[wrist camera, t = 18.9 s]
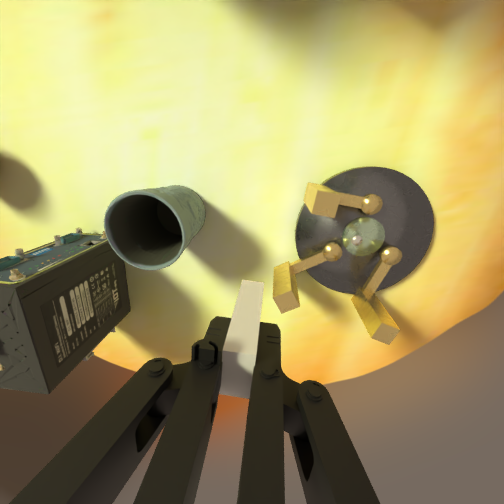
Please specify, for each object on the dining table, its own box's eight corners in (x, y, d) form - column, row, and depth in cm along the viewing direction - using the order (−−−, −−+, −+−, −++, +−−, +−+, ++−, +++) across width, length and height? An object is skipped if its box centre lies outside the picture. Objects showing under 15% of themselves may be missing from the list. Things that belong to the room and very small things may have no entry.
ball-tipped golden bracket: (385, 242, 38) (418, 268, 29) (402, 249, 38) (440, 277, 29) (350, 298, 42) (370, 337, 33) (365, 304, 42) (389, 345, 33)
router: (120, 227, 44) (1, 279, 25) (132, 316, 50) (44, 411, 31) (76, 224, 44) (-73, 272, 25) (93, 312, 51) (-15, 402, 32)
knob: (336, 238, 39) (354, 263, 30) (343, 254, 39) (362, 282, 30) (273, 266, 41) (272, 297, 32) (281, 280, 42) (282, 314, 33)
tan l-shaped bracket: (382, 195, 36) (417, 208, 27) (375, 214, 37) (407, 233, 28) (307, 181, 36) (317, 189, 27) (303, 200, 37) (311, 214, 28)
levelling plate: (349, 137, 35) (354, 136, 33) (458, 214, 37) (470, 218, 35) (271, 249, 42) (270, 255, 40) (366, 309, 44) (371, 317, 42)
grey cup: (218, 196, 40) (195, 211, 29) (199, 251, 44) (172, 283, 32) (158, 171, 40) (110, 176, 28) (144, 228, 43) (97, 253, 32)
